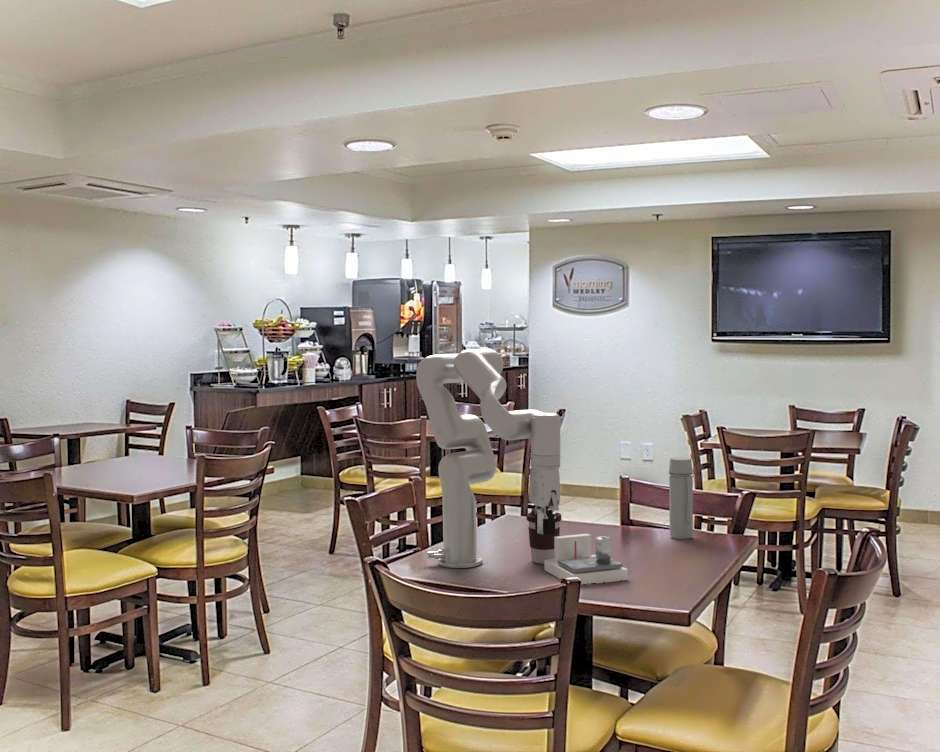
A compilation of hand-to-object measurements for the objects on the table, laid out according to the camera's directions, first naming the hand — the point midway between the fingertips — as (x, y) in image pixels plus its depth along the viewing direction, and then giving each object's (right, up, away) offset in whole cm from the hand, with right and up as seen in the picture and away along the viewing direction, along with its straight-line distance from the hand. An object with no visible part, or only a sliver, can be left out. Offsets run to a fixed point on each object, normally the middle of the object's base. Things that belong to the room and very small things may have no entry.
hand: (545, 531), depth 234 cm
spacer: (0, 0, 0) cm, 0 cm away
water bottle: (+48, -11, +53) cm, 72 cm away
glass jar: (+16, -9, +9) cm, 21 cm away
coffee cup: (+2, -13, +26) cm, 29 cm away
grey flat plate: (+13, -10, +8) cm, 18 cm away
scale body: (+12, -14, +11) cm, 21 cm away
